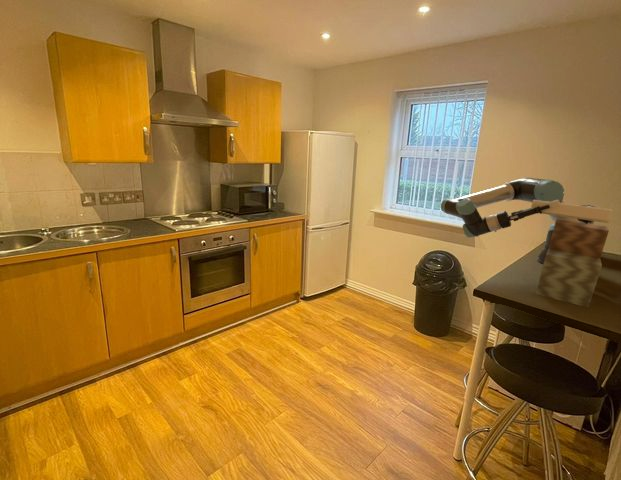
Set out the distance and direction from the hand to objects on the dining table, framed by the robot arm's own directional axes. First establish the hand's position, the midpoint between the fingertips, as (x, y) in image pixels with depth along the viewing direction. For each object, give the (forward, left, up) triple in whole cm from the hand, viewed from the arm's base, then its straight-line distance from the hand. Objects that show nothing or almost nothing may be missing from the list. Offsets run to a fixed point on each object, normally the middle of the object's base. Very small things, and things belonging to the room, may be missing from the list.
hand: (559, 202), depth 139 cm
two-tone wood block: (-11, +4, -39) cm, 41 cm away
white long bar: (-2, +3, -5) cm, 6 cm away
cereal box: (-85, -46, -39) cm, 104 cm away
